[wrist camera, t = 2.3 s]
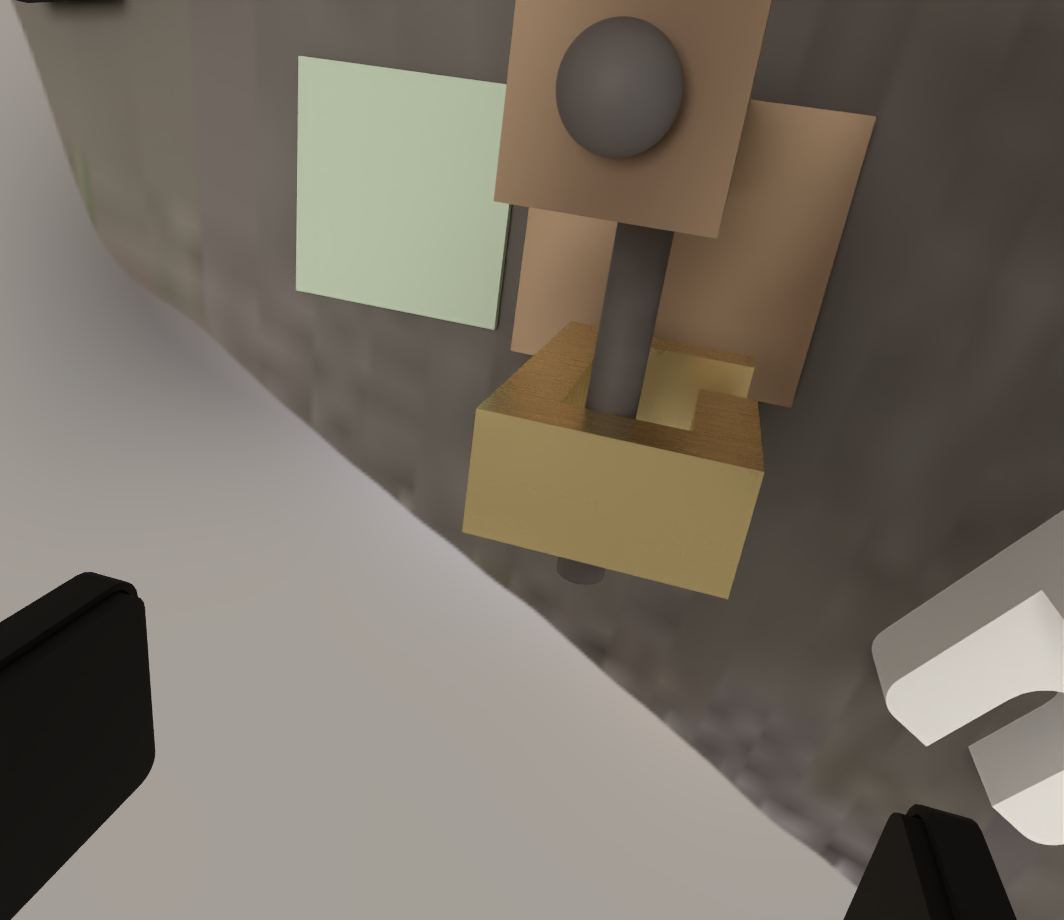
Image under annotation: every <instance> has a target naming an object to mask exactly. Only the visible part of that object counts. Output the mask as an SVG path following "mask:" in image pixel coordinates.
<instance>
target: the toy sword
mask: <svg viewBox="0 0 1064 920" xmlns="http://www.w3.org/2000/svg"><path fill="white" fill-rule="evenodd" d="M17 1H21V2H26V3H36V2H59V1H81V0H17Z"/></svg>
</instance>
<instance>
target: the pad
mask: <svg viewBox="0 0 1064 920" xmlns="http://www.w3.org/2000/svg"><path fill="white" fill-rule="evenodd" d="M506 85H507V84H500V83H492V82H485V81H478V80H471V79H463V78H456V77H449V76H442V75H434V74H427V73H420V72H413V71H406V70H398V69H391V68H384V67H377V66H369V65H362V64H355V63H348V62H340V61H333V60H326V59H319V58H311V57H304V56H299V71H298V158H297V246H296V290H298V291H303V292H308V293H313V294H318V295H323V296H328V297H333V298H338V299H343V300H348V301H353V302H358V303H363V304H368V305H373V306H378V307H383V308H388V309H393V310H398V311H403V312H408V313H413V314H418V315H423V316H428V317H433V318H438V319H443V320H448V321H453V322H458V323H463V324H468V325H473V326H478V327H483V328H488V329H493V330H495V329H496V328H497V324H498V316H499V307H500V299H501V291H502V283H503V274H504V266H505V258H506V249H507V241H508V233H509V225H510V216H511V208H512V204H507V203H501V202H495V201H494V193H495V184H496V175H497V166H498V157H499V148H500V139H501V130H502V121H503V112H504V103H505V94H506Z"/></svg>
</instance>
